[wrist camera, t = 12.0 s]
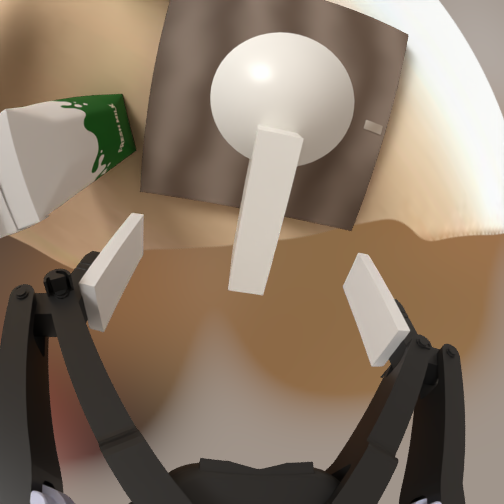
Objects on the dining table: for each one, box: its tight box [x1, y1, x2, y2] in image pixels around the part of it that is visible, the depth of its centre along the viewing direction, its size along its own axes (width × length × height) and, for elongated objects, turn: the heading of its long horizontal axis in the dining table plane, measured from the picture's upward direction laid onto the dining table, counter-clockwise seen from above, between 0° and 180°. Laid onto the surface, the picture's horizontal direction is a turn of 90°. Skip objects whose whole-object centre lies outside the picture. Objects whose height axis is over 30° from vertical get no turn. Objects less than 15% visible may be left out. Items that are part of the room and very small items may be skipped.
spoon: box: [210, 32, 354, 295], centre depth 18 cm, size 18×9×6 cm, turn 169°
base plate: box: [140, 0, 408, 231], centre depth 25 cm, size 24×24×2 cm
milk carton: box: [0, 94, 136, 238], centre depth 18 cm, size 9×9×20 cm
